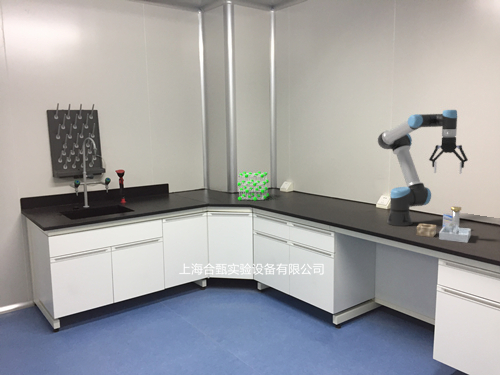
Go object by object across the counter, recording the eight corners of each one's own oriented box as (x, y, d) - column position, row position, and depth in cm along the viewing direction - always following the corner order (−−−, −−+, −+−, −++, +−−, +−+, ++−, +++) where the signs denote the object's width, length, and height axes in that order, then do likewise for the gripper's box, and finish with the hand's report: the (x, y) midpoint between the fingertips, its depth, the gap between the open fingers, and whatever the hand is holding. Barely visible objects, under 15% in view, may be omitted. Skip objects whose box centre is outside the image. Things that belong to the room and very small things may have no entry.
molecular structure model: (264, 201, 358) (263, 174, 354) (237, 200, 364) (236, 174, 360) (269, 196, 381) (268, 171, 378) (244, 196, 387) (243, 171, 384)
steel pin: (449, 236, 225) (450, 208, 223) (450, 233, 230) (451, 206, 227) (459, 237, 223) (460, 208, 220) (460, 235, 227) (461, 207, 224)
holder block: (416, 235, 233) (416, 226, 233) (419, 231, 241) (420, 223, 240) (433, 237, 228) (433, 228, 228) (436, 233, 236) (436, 225, 235)
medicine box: (442, 227, 248) (442, 214, 247) (447, 226, 250) (448, 213, 249) (453, 230, 241) (453, 216, 240) (458, 229, 243) (459, 215, 242)
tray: (438, 239, 224) (439, 232, 223) (443, 232, 237) (443, 226, 236) (467, 242, 216) (467, 235, 215) (470, 235, 229) (470, 228, 228)
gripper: (424, 137, 237) (423, 173, 240) (472, 136, 223) (470, 174, 227) (427, 136, 243) (426, 171, 247) (474, 136, 230) (472, 173, 233)
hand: (447, 173), depth 237 cm, fingers open, 13 cm apart
